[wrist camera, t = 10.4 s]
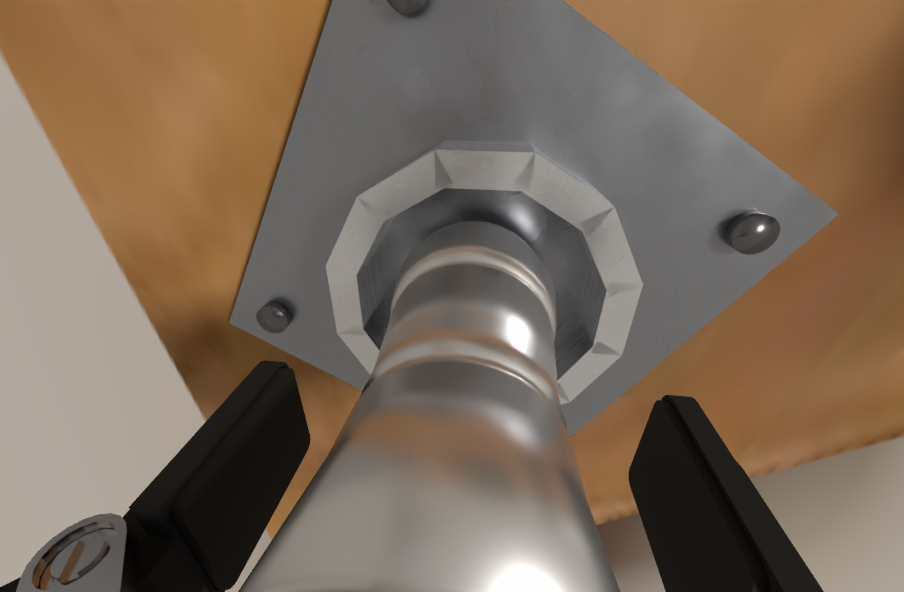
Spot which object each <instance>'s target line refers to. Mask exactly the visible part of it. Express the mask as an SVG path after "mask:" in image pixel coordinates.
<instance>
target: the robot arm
mask: <svg viewBox="0 0 904 592" xmlns="http://www.w3.org/2000/svg"><path fill="white" fill-rule="evenodd" d="M309 445H310V434H309V430H308V426H307V422H306V418H305V414H304V410H303V406H302V402H301V398H300V394H299V391H298V387H297V383H296V379H295V375H294V372H293V370H292V369H291V368H289V367H288V365H287V364H286V363H284V362H275V361H261V362H260V363H259V364H258V365H257V366H256V367H255V368H254V369H253V370H252V371H251V373H250V374H249V375H248V376H247V377H246V378H245V379H244V380H243V381H242V383H241V384H240V385H239V386H238V387H237V388H236V389H235V390H234V391H233V392H232V394H231V395H230V396H229V397H228V398H227V399H226V400H225V401H224V402H223V404H222V405H221V406H220V407H219V408H218V409H217V410H216V411H215V412H214V414H213V415H212V416H211V417H210V418H209V419H208V420H207V421H206V422H205V424H204V425H203V426H202V427H201V428H200V429H199V430H198V431H197V432H196V434H195V435H194V436H193V437H192V438H191V439H190V440H189V441H188V442H187V444H186V445H185V446H184V447H183V448H182V449H181V450H180V451H179V453H178V454H177V455H176V456H175V457H174V458H173V459H172V460H171V461H170V462H169V463H168V465H167V466H166V467H165V468H164V469H163V470H162V471H161V472H160V474H159V475H158V476H157V477H156V478H155V479H154V480H153V481H152V482H151V483H150V485H149V486H148V487H147V488H146V489H145V490H144V491H143V493H141V495H140V496H139V497H138V498H137V499H136V500H135V501H134V502H133V503H132V505H131V506H130V507H129V508H130V510H129V511H128V512H127V513H126V514H125V515H124V517H123V518H122V517H121V516H119V515H115V514H111V513H109V514H100V515H96V516H92V517H89V518H87V519H83V520H82V521H80V522H78V523H76V524H74V525H72V526H70V527H68V528H66V529H65V530H64V531H62V532H61V533H59V534H58V535H57V536H55V537H53V538H52V539H51V540H50V541H49V542H48V543H46V545H44V546H43V547H42V548H41V549H40V550H39V551H38V552H37V553H36V554H35V556H34V557H33V558H32V559H31V561H30V562H29V563H28V565H27V566H26V568H25V570H24V572H23V574H22V576H21V577H20V578H18V579H16V580H14V581H12V582H10V583H8V584H6V585H4V586H2V587H0V592H225V590H228V589H230V588H231V587H232V586H233V585H234V584H235V583H236V581H237V580H238V578H239V576H240V574H241V572H242V571H243V569H244V567H245V565H246V563H247V561H248V559H249V557H250V556H251V554H252V552H253V550H254V548H255V547H256V545H257V543H258V541H259V539H260V537H261V535H262V533H263V532H264V530H265V528H266V526H267V524H268V523H269V521H270V519H271V517H272V515H273V513H274V511H275V510H276V508H277V506H278V504H279V502H280V500H281V499H282V497H283V495H284V493H285V491H286V489H287V487H288V486H289V484H290V482H291V480H292V478H293V476H294V474H295V473H296V471H297V469H298V467H299V465H300V463H301V462H302V460H303V458H304V456H305V454H306V452H307V450H308V448H309ZM629 483H630V487H631V490H632V493H633V496H634V499H635V502H636V505H637V508H638V511H639V514H640V517H641V519H642V522H643V525H644V528H645V531H646V534H647V537H648V540H649V543H650V546H651V549H652V552H653V555H654V558H655V561H656V564H657V567H658V570H659V573H660V576H661V578H662V582H663V584H664V588H665V591H666V592H823V590H822V588H821V587H820V585H819V584H818V582H817V581H816V579H815V578H814V576H813V575H812V573H811V572H810V570H809V569H808V567H807V566H806V564H805V563H804V561H803V560H802V558H801V556H800V555H799V553H798V552H797V550H796V549H795V547H794V546H793V544H792V543H791V541H790V540H789V538H788V537H787V535H786V534H785V532H784V531H783V529H782V528H781V526H780V525H779V523H778V521H777V520H776V519H775V517H774V515H773V514H772V512H771V511H770V509H769V508H768V506H767V505H766V503H765V502H764V500H763V499H762V497H761V496H760V494H759V493H758V491H757V490H756V488H755V486H754V485H753V484H752V482H751V480H750V479H749V477H748V476H747V474H746V473H745V471H744V470H743V468H742V467H741V466H740V465H739V464H738V462H736V461H735V459H734V458H733V456H732V455H731V453H730V452H729V450H728V448H727V447H726V445H725V444H724V442H723V441H722V439H721V438H720V436H719V435H718V433H717V432H716V430H715V428H714V427H713V425H712V424H711V422H710V421H709V419H708V418H707V416H706V415H705V413H704V412H703V410H702V409H701V407H700V405H699V404H698V402H697V401H696V400H695V399H694V398H692V397H684V396H673V395H665V396H664V397H663V398H662V400H661V401H660V400H657V401H656V402H655V404H654V406H653V409H652V411H651V414H650V417H649V419H648V422H647V424H646V427H645V430H644V432H643V435H642V438H641V440H640V443H639V445H638V448H637V451H636V453H635V456H634V459H633V461H632V464H631V466H630V469H629Z"/></svg>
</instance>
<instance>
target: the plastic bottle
mask: <svg viewBox="0 0 904 592" xmlns="http://www.w3.org/2000/svg"><path fill="white" fill-rule="evenodd" d="M555 333H556V297H555V290H554V286H553V282H552V279H551V276H550V275H549V273H548V271H547V269H546V267H545V265H544V263H543V262H542V261H541V260H540V258H539V257H538V256H537V254H536V253H535V252H534V251H533V250H532V248H531V247H530V246H529V245H528V244H527V242H525V241H524V240H523V239H522V238H520V237H519V236H518V235H517V234H515V233H514V232H512V231H510V230H508V229H506V228H504V227H502V226H499V225H495V224H492V223H488V222H480V221H466V222H457V223H454V224H451V225H448V226H445V227H443V228H441V229H439V230H437V231H436V232H434V233H432V234H431V235H429V236H428V237H427V238H426V239H424V240H423V241H422V242H421V243H420V244H419V245H418V246H417V247H415V248H414V249H413V250H412V251H411V252H410V254H409V255H408V257H407V258H406V260H405V261H404V262H403V264H402V266H401V269H400V272H399V274H398V277H397V280H396V284H395V288H394V292H393V297H392V304H391V313H390V320H389V323H388V327H387V330H386V333H385V336H384V339H383V342H382V345H381V348H380V352H379V355H378V358H377V361H376V364H375V367H374V370H373V371H372V373H371V375H370V377H369V379H368V381H367V383H366V384H365V386H364V389H363V391H362V394H361V396H360V398H359V399H358V400H357V402H356V403H355V405H354V407H353V409H352V411H351V413H350V415H349V416H348V418H347V420H346V422H345V424H344V426H343V428H342V430H341V432H340V433H339V435H338V437H337V439H336V441H335V443H334V445H333V447H332V449H331V450H330V452H329V454H328V456H327V458H326V459H325V461H324V462H323V464H322V465H321V467H320V468H319V470H318V471H317V473H316V474H315V476H314V477H313V479H312V480H311V482H310V483H309V485H308V487H307V488H306V490H305V491H304V493H303V494H302V496H301V497H300V499H299V500H298V502H297V503H296V505H295V506H294V508H293V509H292V511H291V512H290V514H289V515H288V517H287V518H286V520H285V521H284V523H283V525H282V526H281V528H280V529H279V531H278V532H277V534H276V535H275V537H274V538H273V540H272V541H271V543H270V544H269V546H268V547H267V549H266V550H265V552H264V553H263V555H262V556H261V558H260V559H259V561H258V563H257V564H256V566H255V567H254V569H253V570H252V572H251V573H250V575H249V576H248V578H247V579H246V581H245V582H244V584H243V585H242V587H241V588H240V590H239V592H620V590H619V587H618V584H617V582H616V579H615V576H614V573H613V571H612V568H611V565H610V563H609V560H608V557H607V554H606V552H605V549H604V546H603V543H602V541H601V538H600V535H599V533H598V530H597V528H596V524H595V522H594V519H593V516H592V514H591V511H590V508H589V505H588V503H587V499H586V495H585V492H584V488H583V484H582V481H581V477H580V473H579V469H578V466H577V462H576V458H575V455H574V451H573V447H572V444H571V441H570V438H569V434H568V431H567V425H566V421H565V418H564V414H563V411H562V407H561V403H560V400H559V393H558V382H557V371H556V360H555V349H554V339H555Z"/></svg>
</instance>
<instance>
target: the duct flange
mask: <svg viewBox="0 0 904 592" xmlns="http://www.w3.org/2000/svg"><path fill="white" fill-rule="evenodd" d="M837 215H839V214H838V213H837V212H836V211H834V210H833V209H832V208H830V207H829V206H828V205H826V204H825V203H824V202H823V201H821V200H820V199H819V198H817V197H816V196H815V195H814V194H812V193H811V192H810V191H808V190H807V189H806V188H805V187H803V186H802V185H801V184H799V183H798V182H797V181H796V180H794V179H793V178H792V177H790V176H789V175H788V174H786V173H785V172H784V171H783V170H781V169H780V168H779V167H777V166H776V165H775V164H774V163H772V162H771V161H770V160H768V159H767V158H766V157H765V156H763V155H762V154H761V153H759V152H758V151H757V150H756V149H754V148H753V147H752V146H750V145H749V144H748V143H746V142H745V141H744V140H743V139H741V138H740V137H739V136H737V135H736V134H735V133H734V132H732V131H731V130H730V129H728V128H727V127H726V126H725V125H723V124H722V123H721V122H719V121H718V120H717V119H716V118H714V117H713V116H712V115H710V114H709V113H708V112H706V111H705V110H704V109H703V108H701V107H700V106H699V105H697V104H696V103H695V102H694V101H692V100H691V99H690V98H688V97H687V96H686V95H685V94H683V93H682V92H681V91H679V90H678V89H677V88H676V87H674V86H673V85H672V84H670V83H669V82H668V81H666V80H665V79H664V78H663V77H661V76H660V75H659V74H657V73H656V72H655V71H654V70H652V69H651V68H650V67H648V66H647V65H646V64H645V63H643V62H642V61H641V60H639V59H638V58H637V57H636V56H634V55H633V54H632V53H630V52H629V51H628V50H626V49H625V48H624V47H623V46H621V45H620V44H619V43H617V42H616V41H615V40H614V39H612V38H611V37H610V36H608V35H607V34H606V33H605V32H603V31H602V30H601V29H599V28H598V27H597V26H596V25H594V24H593V23H592V22H590V21H589V20H588V19H586V18H585V17H584V16H583V15H581V14H580V13H579V12H577V11H576V10H575V9H574V8H572V7H571V6H570V5H568V4H567V3H566V2H565V1H563V0H332V4H331V7H330V10H329V13H328V16H327V19H326V22H325V25H324V28H323V32H322V35H321V38H320V41H319V44H318V47H317V50H316V53H315V57H314V60H313V63H312V66H311V69H310V72H309V75H308V78H307V81H306V85H305V88H304V91H303V94H302V97H301V100H300V103H299V106H298V110H297V113H296V116H295V119H294V122H293V125H292V128H291V131H290V134H289V138H288V141H287V144H286V147H285V150H284V153H283V156H282V159H281V162H280V166H279V169H278V172H277V175H276V178H275V181H274V184H273V187H272V191H271V194H270V197H269V200H268V203H267V206H266V209H265V212H264V215H263V219H262V222H261V225H260V228H259V231H258V234H257V237H256V240H255V244H254V247H253V250H252V253H251V256H250V259H249V262H248V265H247V268H246V272H245V275H244V278H243V281H242V284H241V287H240V290H239V293H238V297H237V300H236V303H235V306H234V309H233V312H232V315H231V318H230V321H229V324H231V325H233V326H235V327H237V328H239V329H241V330H243V331H245V332H247V333H249V334H251V335H253V336H255V337H257V338H259V339H261V340H263V341H265V342H267V343H269V344H271V345H273V346H275V347H277V348H279V349H281V350H283V351H285V352H287V353H289V354H291V355H293V356H295V357H297V358H299V359H301V360H303V361H305V362H307V363H308V364H310V365H312V366H314V367H316V368H318V369H320V370H322V371H324V372H326V373H328V374H330V375H332V376H334V377H336V378H338V379H340V380H342V381H344V382H346V383H348V384H350V385H352V386H354V387H356V388H358V389H360V390H362V391H363V389H364V386H365V384H366V383H367V381H368V379H369V377H370V375H371V373H372V371H373V370H374V367H375V364H376V361H377V358H378V355H379V352H380V348H381V345H382V342H383V339H384V336H385V333H386V330H387V327H388V323H389V320H390V313H391V304H392V297H393V292H394V288H395V284H396V280H397V277H398V274H399V272H400V269H401V266H402V264H403V262H404V261H405V260H406V258H407V257H408V255H409V254H410V252H411V251H412V250H413V249H414V248H415V247H417V246H418V245H419V244H420V243H421V242H422V241H423V240H424V239H426V238H427V237H428V236H429V235H431V234H432V233H434V232H436V231H437V230H439V229H441V228H443V227H445V226H448V225H451V224H454V223H457V222H466V221H480V222H488V223H492V224H495V225H499V226H502V227H504V228H506V229H508V230H510V231H512V232H514V233H515V234H517V235H518V236H519V237H520V238H522V239H523V240H524V241H525V242H527V244H528V245H529V246H530V247H531V248H532V250H533V251H534V252H535V253H536V254H537V256H538V257H539V258H540V260H541V261H542V262H543V263H544V265H545V267H546V269H547V271H548V273H549V275H550V276H551V279H552V282H553V286H554V290H555V297H556V333H555V339H554V349H555V360H556V371H557V382H558V393H559V400H560V403H561V407H562V411H563V414H564V418H565V421H566V425H567V431H568V434H569V438H570V437H571V436H572V435H574V434H575V433H576V432H577V431H578V430H580V429H581V428H582V427H583V426H584V425H586V424H587V423H588V422H589V421H591V420H592V419H593V418H594V417H595V416H597V415H598V414H599V413H600V412H601V411H603V410H604V409H605V408H606V407H607V406H609V405H610V404H611V403H612V402H613V401H615V400H616V399H617V398H618V397H619V396H621V395H622V394H623V393H624V392H625V391H627V390H628V389H629V388H630V387H631V386H633V385H634V384H635V383H636V382H637V381H639V380H640V379H641V378H642V377H643V376H645V375H646V374H647V373H648V372H650V371H651V370H652V369H653V368H654V367H656V366H657V365H658V364H659V363H660V362H662V361H663V360H664V359H665V358H666V357H668V356H669V355H670V354H671V353H672V352H674V351H675V350H676V349H677V348H678V347H680V346H681V345H682V344H683V343H684V342H686V341H687V340H688V339H689V338H690V337H692V336H693V335H694V334H695V333H696V332H698V331H699V330H700V329H701V328H702V327H704V326H705V325H706V324H707V323H709V322H710V321H711V320H712V319H713V318H715V317H716V316H717V315H718V314H719V313H721V312H722V311H723V310H724V309H725V308H727V307H728V306H729V305H730V304H731V303H733V302H734V301H735V300H736V299H737V298H739V297H740V296H741V295H742V294H743V293H745V292H746V291H747V290H748V289H749V288H751V287H752V286H753V285H754V284H755V283H757V282H758V281H759V280H760V279H761V278H763V277H764V276H765V275H766V274H768V273H769V272H770V271H771V270H772V269H774V268H775V267H776V266H777V265H778V264H780V263H781V262H782V261H783V260H784V259H786V258H787V257H788V256H789V255H790V254H792V253H793V252H794V251H795V250H796V249H798V248H799V247H800V246H801V245H802V244H804V243H805V242H806V241H807V240H808V239H810V238H811V237H812V236H813V235H814V234H816V233H817V232H818V231H819V230H820V229H822V228H823V227H824V226H825V225H827V224H828V223H829V222H830V221H831V220H833V219H834V218H835V217H836V216H837Z"/></svg>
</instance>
